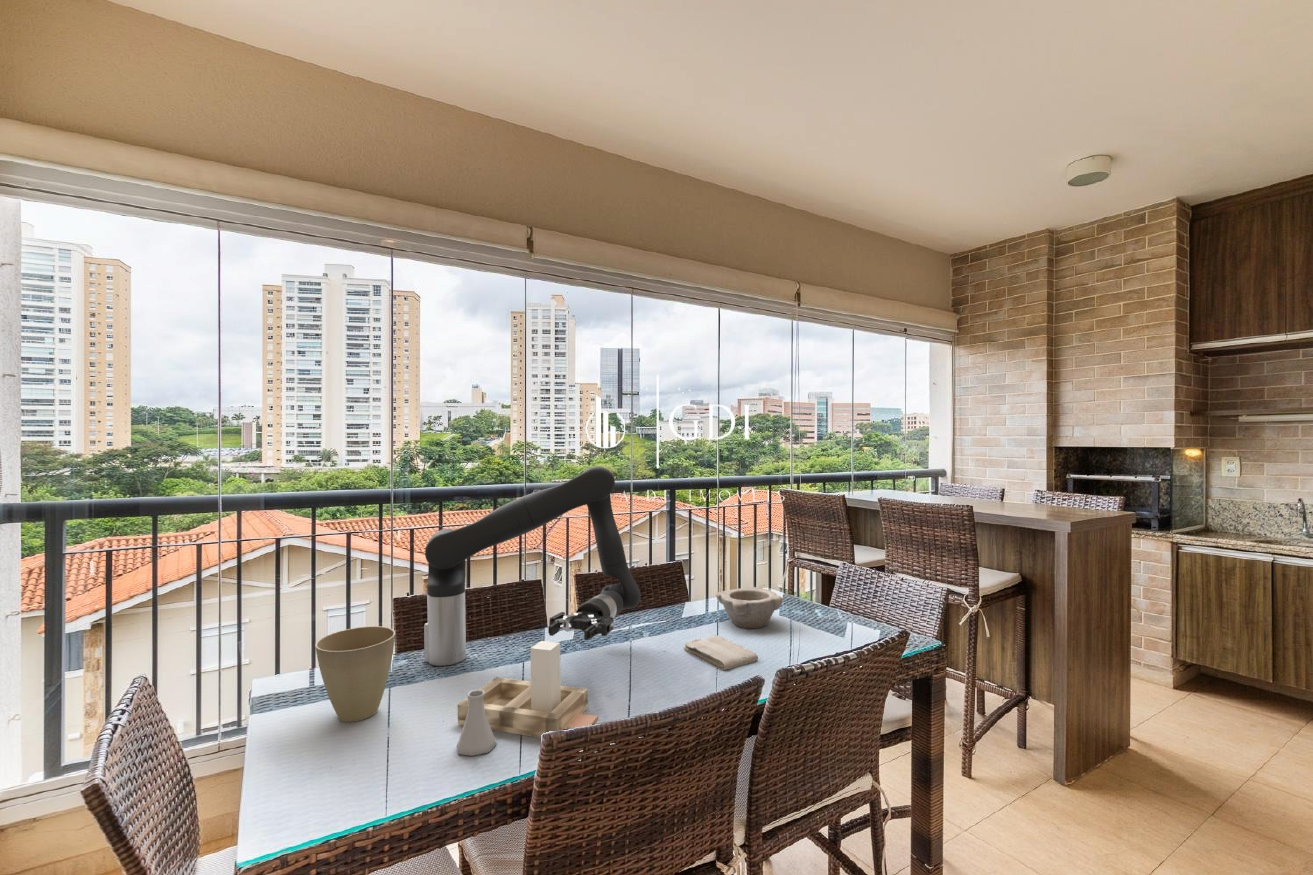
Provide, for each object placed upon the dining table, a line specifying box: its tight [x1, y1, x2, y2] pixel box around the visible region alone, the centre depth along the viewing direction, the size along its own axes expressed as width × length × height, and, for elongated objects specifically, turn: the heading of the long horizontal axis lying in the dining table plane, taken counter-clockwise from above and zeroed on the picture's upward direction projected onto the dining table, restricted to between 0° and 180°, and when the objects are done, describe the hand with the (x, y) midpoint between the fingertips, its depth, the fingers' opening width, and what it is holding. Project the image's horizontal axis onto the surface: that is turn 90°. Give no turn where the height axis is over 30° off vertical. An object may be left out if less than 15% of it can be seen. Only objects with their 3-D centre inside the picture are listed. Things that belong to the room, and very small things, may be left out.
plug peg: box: [530, 640, 562, 713], centre depth 122 cm, size 4×4×14 cm
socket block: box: [457, 676, 599, 739], centre depth 123 cm, size 26×14×4 cm, turn 73°
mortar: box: [715, 586, 783, 629], centre depth 182 cm, size 17×17×9 cm
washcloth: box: [683, 635, 759, 671], centre depth 156 cm, size 12×18×3 cm, turn 34°
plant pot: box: [314, 625, 396, 723], centre depth 125 cm, size 15×15×16 cm
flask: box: [456, 689, 497, 756], centre depth 112 cm, size 7×7×10 cm
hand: (568, 633), depth 132 cm, fingers open, 8 cm apart
